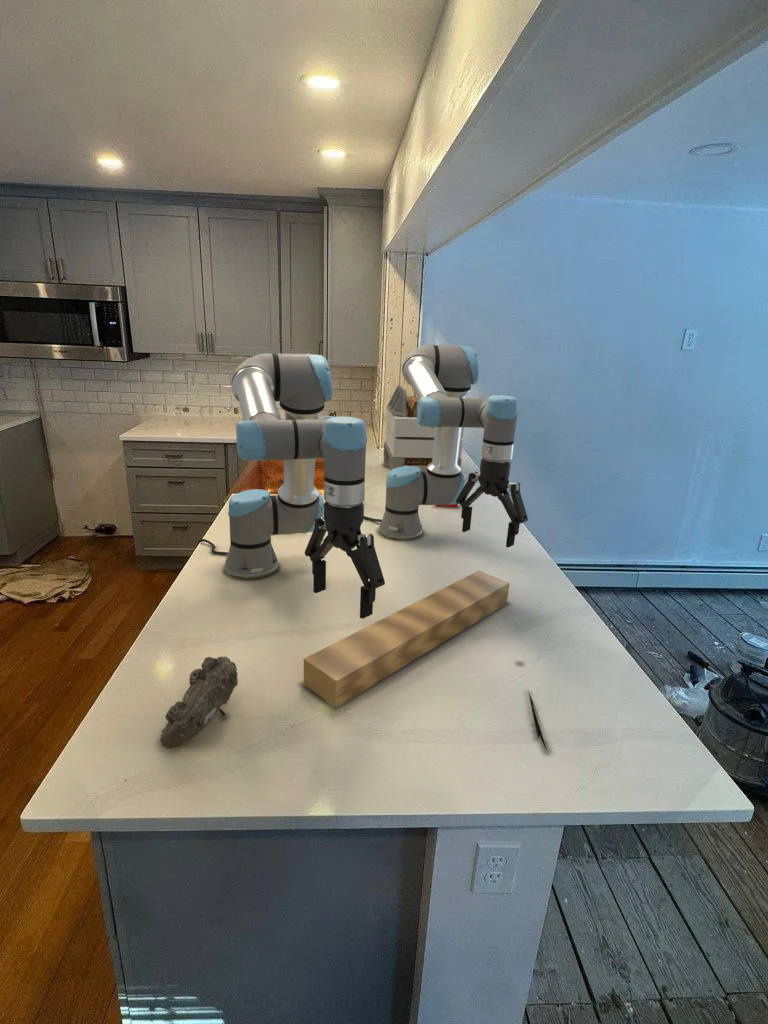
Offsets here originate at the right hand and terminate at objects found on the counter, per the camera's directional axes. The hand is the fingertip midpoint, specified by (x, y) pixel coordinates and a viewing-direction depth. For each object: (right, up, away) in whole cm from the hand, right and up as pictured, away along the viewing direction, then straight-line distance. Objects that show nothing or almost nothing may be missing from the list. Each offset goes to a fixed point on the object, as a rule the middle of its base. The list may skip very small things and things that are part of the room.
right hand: (487, 538), depth 148 cm
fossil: (-61, -32, -39) cm, 79 cm away
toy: (-2, +13, +93) cm, 94 cm away
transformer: (-10, +26, +127) cm, 130 cm away
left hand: (-35, -11, -36) cm, 52 cm away
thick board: (-19, -24, -11) cm, 32 cm away
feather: (+3, -32, -32) cm, 46 cm away
